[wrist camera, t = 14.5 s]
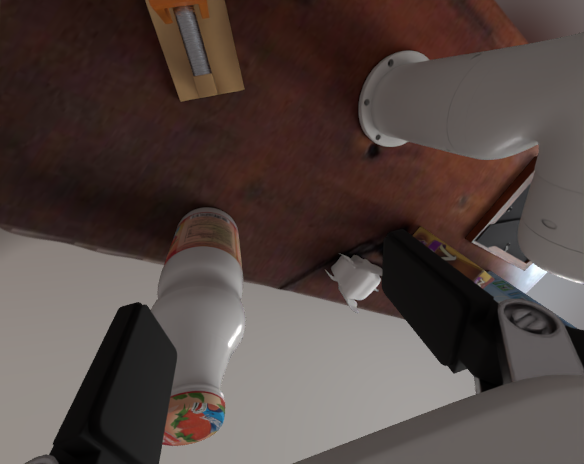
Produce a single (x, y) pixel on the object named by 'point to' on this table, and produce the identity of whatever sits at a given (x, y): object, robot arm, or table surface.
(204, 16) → the clip
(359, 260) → the elephant figurine
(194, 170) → the table surface
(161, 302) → the fruit juice
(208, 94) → the rail stand
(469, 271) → the candy box
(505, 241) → the picture frame
